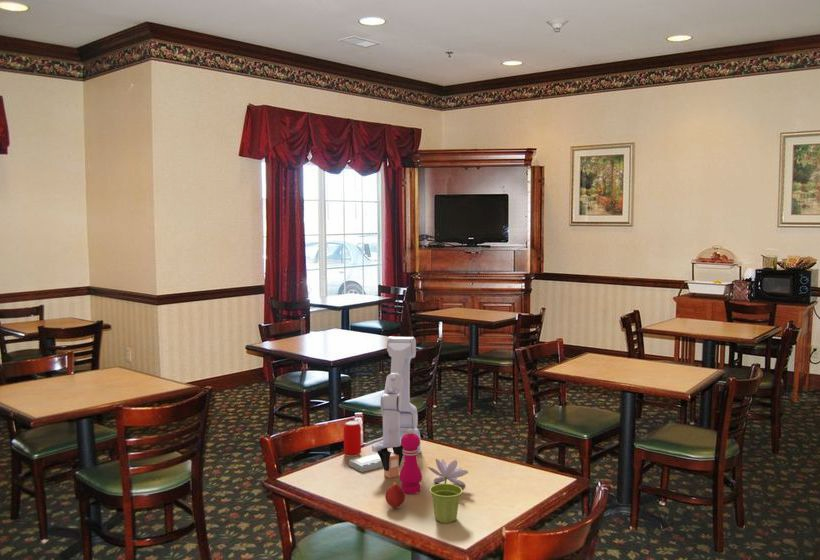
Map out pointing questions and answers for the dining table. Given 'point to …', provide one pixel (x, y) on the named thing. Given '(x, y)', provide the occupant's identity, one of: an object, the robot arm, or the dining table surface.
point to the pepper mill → (410, 464)
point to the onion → (395, 495)
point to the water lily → (448, 472)
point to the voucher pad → (367, 462)
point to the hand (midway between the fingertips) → (391, 468)
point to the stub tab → (393, 466)
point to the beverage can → (352, 438)
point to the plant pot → (445, 501)
